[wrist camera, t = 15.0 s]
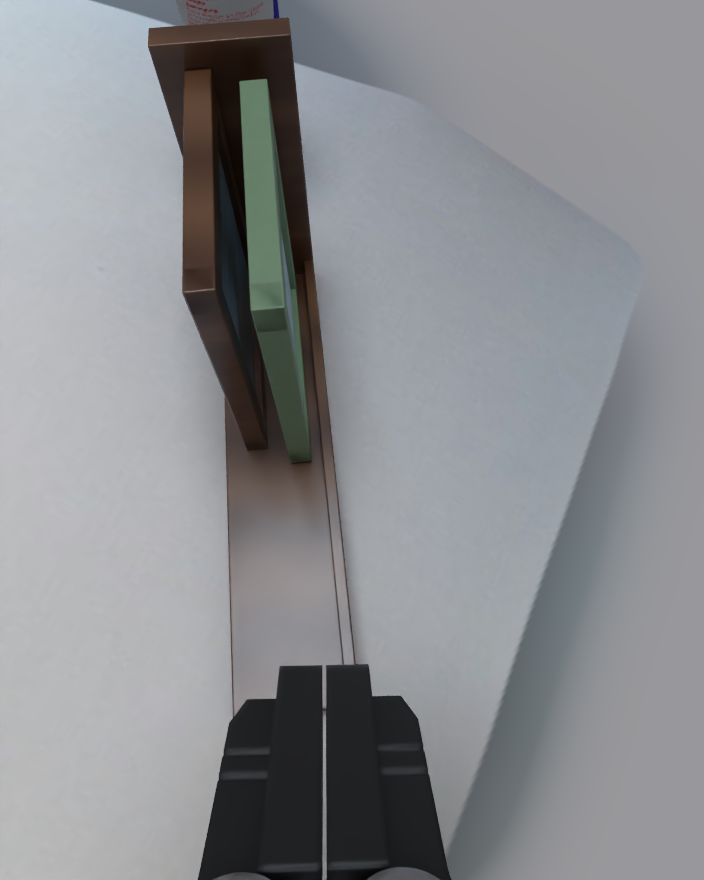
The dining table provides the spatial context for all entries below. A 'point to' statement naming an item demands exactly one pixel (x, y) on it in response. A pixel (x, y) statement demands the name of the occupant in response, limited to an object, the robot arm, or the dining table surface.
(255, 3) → the beverage can
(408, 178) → the dining table surface
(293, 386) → the sliding pane
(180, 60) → the window frame
